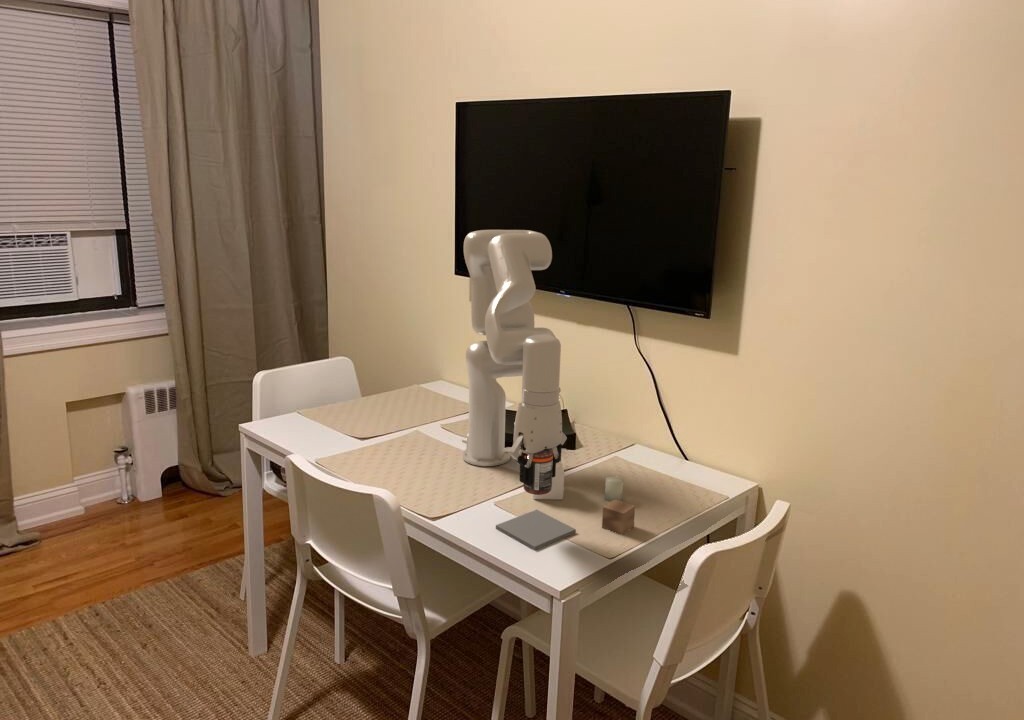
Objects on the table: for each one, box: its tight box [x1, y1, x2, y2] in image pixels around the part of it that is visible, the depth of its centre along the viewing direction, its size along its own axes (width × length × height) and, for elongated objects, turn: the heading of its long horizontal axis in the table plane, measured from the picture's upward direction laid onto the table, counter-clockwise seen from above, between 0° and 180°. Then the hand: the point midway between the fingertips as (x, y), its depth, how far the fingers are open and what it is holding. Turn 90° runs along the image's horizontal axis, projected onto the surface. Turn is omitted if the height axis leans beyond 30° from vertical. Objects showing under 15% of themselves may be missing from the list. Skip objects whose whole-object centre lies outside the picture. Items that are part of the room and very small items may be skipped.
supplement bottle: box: [523, 447, 553, 495], centre depth 156 cm, size 6×6×11 cm
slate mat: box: [495, 509, 577, 551], centre depth 160 cm, size 12×12×1 cm
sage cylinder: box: [604, 475, 624, 503], centre depth 176 cm, size 4×4×5 cm
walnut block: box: [601, 499, 636, 536], centre depth 162 cm, size 5×5×5 cm
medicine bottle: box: [531, 449, 565, 501], centre depth 177 cm, size 7×7×12 cm
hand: (537, 478), depth 157 cm, fingers closed on supplement bottle, 6 cm apart
